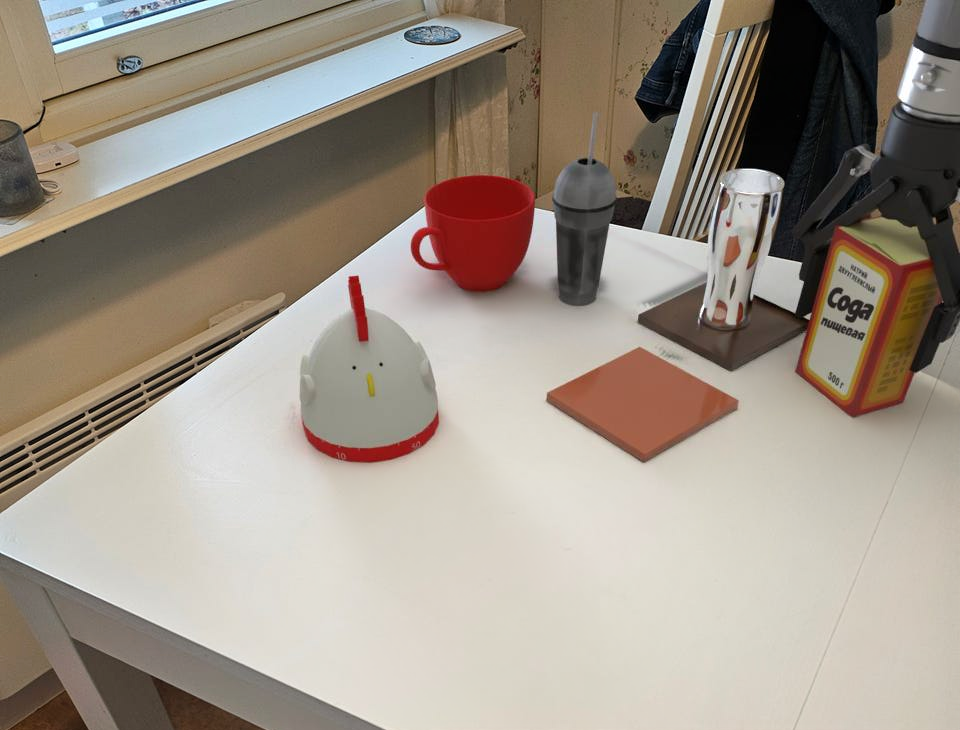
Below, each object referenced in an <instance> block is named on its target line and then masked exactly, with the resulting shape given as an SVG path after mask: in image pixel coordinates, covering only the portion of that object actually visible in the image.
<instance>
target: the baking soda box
mask: <svg viewBox="0 0 960 730" xmlns="http://www.w3.org/2000/svg"><path fill="white" fill-rule="evenodd" d="M829 244H830V245H829V247H830V248H829V251H828V255H827V259H826V262H825V266H824V269H823V273H822V277H821V280H820V284H819V287H818V291H817V295H816V298H815V302H814V305H813V309H812V313H810V317H809V323H808V327H807V330H805V335H804V338H803V342H802V346H801V348H800V353H799V356H798V359H797V363H796V367H795V370H794V372H795V373H796V374H797V375H798V376H800V377H801V378H802V379H803V380H804V381H806V382H807V383H809V385H811V386H812V387H813V388H815V390H817V391H819V392H820V393H821V394H822V395H824V397H826V398H827V399H829V401H831V402H832V403H833V404H835V405H836V406H837V407H839V409H841V410H842V411H843V412H845V413H846V414H847V415H848V416H849V417H850V418H856V417H860V416H862V415H866V414H868V413H872V412H875V411H879V410H883V409H887V408H889V407H892V406H897V405H898V404H902V403H904V402H905V399H906V396H907V394H908V391H909V389H910V387H911V384H912V381H913V378H914V376H915V373H914V372H912V371H910V370H909V369H910V366H911V364H912V361H913V359H914V356H915V354H916V351H917V349H918V346H919V344H920V341H921V339H922V336H923V334H924V331H925V329H926V326H927V324H928V321H929V319H930V316H931V314H932V311H933V309H934V307H935V306H937V305H939V304H940V303H942V302H943V299H942V296H941V293H940V289H939V286H938V283H937V279H936V276H935V273H934V269H933V266H932V260H931V259H930V256H929V253H928V249H927V246H926V243H925V241H924V240H923V239H921V237H920V235H919V231H918V228H917V227H916V226H914V227H912V228H909V227H906V226H904V225H902V224H901V223H900V222H898V221H897V220H888V219H886V218H883V217H881V215H878V216H873V217H869V218H864V219H862V220H861V221H858V222H856V223H854V224H852V225H850V226H848V227H844V226H841V225H838V226H835V230H834V233H833V237H832V241H831V242H830V243H829Z"/></svg>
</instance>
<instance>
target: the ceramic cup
mask: <svg viewBox="0 0 960 730" xmlns="http://www.w3.org/2000/svg"><path fill="white" fill-rule="evenodd" d="M424 210H425V211H424V212H425V219H426V220H425V221H426V226H424V227H421V228H419V229H418V230H416V231H415V232H414V234H413V236H412V238H411V240H410V252H411V255H412V258H413V259H414V261H415V263H416V264H418V265H419V266H420V267H421V268H424V269H426V270H429V271H437V272H441V271H442V272H443V271H444V273H446V274H447V275H448V277H450V279H452V281H453V282H454V283H455V285H456V286H458V287H459V288H461V289H463V290H466V291H469V292H475V293H476V292H479V293H481V292H485V293H486V292H491V291H495V290H497V289H500V288H502V287H504V286H505V285H506V283H507V282H508V280H510V278H511V277H512V276H513V275H515V273H516V271H517V270H518V269H519V268H520V266H521V264H522V263H523V261H524V259H525V257H526V255H527V252H528V250H529V246H530V242H531V238H532V233H533V227H534V218H535V210H536V197H535V194H534V192H533V191H532V189H531V188H530V187H529V186H528V185H526V184H525V183H523V182H520V181H519V180H516V179H512V178H509V177H504V176H500V175H489V174H473V175H472V174H471V175H465V176H458V177H453V178H449V179H447V180H446V179H445V180H443V181H441V182H438V183H437V184H435V185H433V186H432V187H431V188H429V190H427V191H426V194H425V196H424ZM427 236H428V237H429V242H430V245H431V248H432V252H433V254H434V256H435V258H436V260H437V262H435V263H434V262H429V261H426V260H425V259H423V257H422V255H421V244H422V241H423V239H425V238H426V237H427Z"/></svg>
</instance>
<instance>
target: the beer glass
mask: <svg viewBox="0 0 960 730" xmlns="http://www.w3.org/2000/svg"><path fill="white" fill-rule="evenodd" d="M784 187H785V180H784V179H783V178H782V177H781V176H780V175H778V174H776V173H774V172H772V171H769V170H766V169H764V170H763V169H759V168H735V169H731V170H727V171H725V172H724V173H722V174H720V176H719V179H718V184H717V189H716V191H715V192H716V193H715V196H714V199H713V200H714V201H713V204H712V209H711V214H710V219H709V226H708V233H707V234H708V236H707V279H706V282H707V285H706V290H705V293H704V297H703V299H702V302H701V304H700V307H699V310H698V317H699V319H700V321H701V322H703V323H704V324H705V325H707V326H709V327H712V328H715V329H720V330H737V329H741V328H743V327H745V326H747V325H748V324H749V323H750V322H751V319H752V305H753V294H754V295H755V289H756V287H757V282H758V280H759V277H760V275H761V272H762V270H763V268H764V265H765V263H766V260H767V258H768V255H769V253H770V250H771V248H772V245H773V243H774V240H775V236H776V232H777V228H778V224H779V218H780V213H781V209H782V201H783V194H784Z"/></svg>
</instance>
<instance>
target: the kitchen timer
mask: <svg viewBox="0 0 960 730" xmlns="http://www.w3.org/2000/svg"><path fill="white" fill-rule="evenodd" d="M347 281H348V285H347V287H348V288H347V289H348V296H349V302H350V306H351V308H350V309H347V310H345V311H343V312H341V313H339V314H338V315H337V316H336V317H334V318H333V319H332V320H331V321H329V322H328V324H326V326H325V327H324V328H323V329H322V331H321V333H320V334H319V336H317V339H316V340H315V342H314V344H313V346H312V348H311V350H310V353H309V355H306V354H303V355H302V357H301V361H300V370H299V400H300V401H299V402H300V417H301V423H302V428H303V431H304V434H305V436H306V439H307V441H308V442H309V443H310V444H311V446H313V447H314V448H315V449H316V450H317V451H318V452H321V453H322V454H325V455H326V456H329V457H331V458H333V459H337V460H342V461H347V462H355V463H374V462H382V461H383V462H384V461H390V460H394V459H396V458H400V457H402V456H406V455H409V454H411V453H413V452H414V451H416V450H418V449H419V448H421V447H424V446H425V445H426V444H427V443H428V442H429V440H430V439H432V438H433V436H434V435H435V434H436V431H437V429H438V427H439V424H440V419H439V417H440V416H439V400H438V393H437V388H436V387H437V384H436V380H435V376H434V372H433V369H432V365H431V361H430V359H429V357H428V355H427V353H426V350H425V348H424V346H423V345H422V342H420V341H418V340H417V341H416V342H415V341H414V340H413V339H412V337H411V336H410V334H408V332H407V331H406V330H405V329H404V328H403V327H402V326H401V325H400V324H399V323H397V322H396V321H395V320H394V319H392V318H391V317H389V316H388V315H386V314H384V313H382V312H380V311H378V310H375V309H372V308H368V307H365V306H366V305H365V298H364V294H363V291H362V290H363V289H362V284H361V282H360V276H359V275H350V276H348V280H347Z"/></svg>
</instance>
